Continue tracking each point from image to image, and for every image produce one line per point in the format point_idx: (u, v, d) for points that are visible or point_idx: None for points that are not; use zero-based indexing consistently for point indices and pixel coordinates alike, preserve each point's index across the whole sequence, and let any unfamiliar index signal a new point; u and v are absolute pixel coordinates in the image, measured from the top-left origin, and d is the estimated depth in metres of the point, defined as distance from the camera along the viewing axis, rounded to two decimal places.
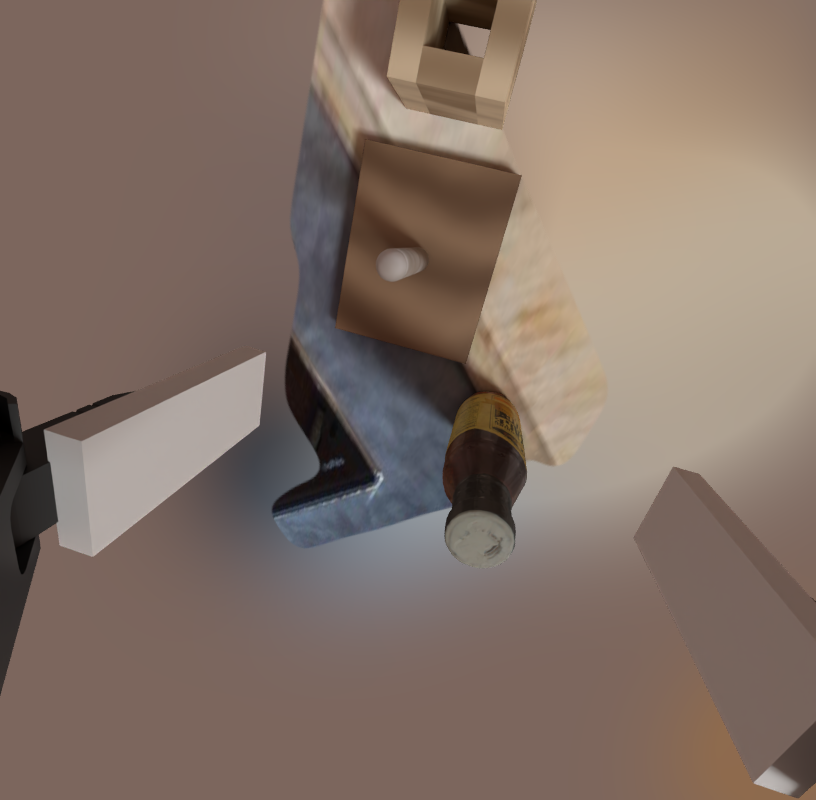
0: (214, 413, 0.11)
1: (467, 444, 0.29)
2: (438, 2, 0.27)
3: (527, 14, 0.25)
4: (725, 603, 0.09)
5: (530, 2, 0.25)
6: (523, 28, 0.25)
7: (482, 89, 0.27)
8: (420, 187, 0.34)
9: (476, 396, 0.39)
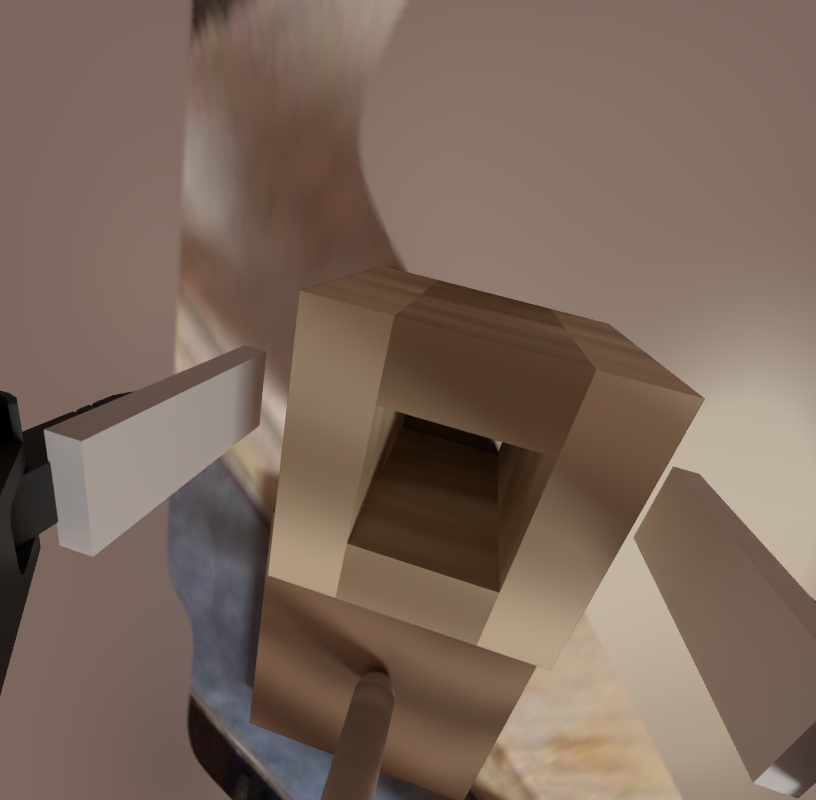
0: (214, 413, 0.11)
1: None
2: (388, 410, 0.11)
3: (620, 538, 0.09)
4: (725, 603, 0.09)
5: (632, 520, 0.09)
6: (607, 563, 0.09)
7: (495, 640, 0.11)
8: None
9: None
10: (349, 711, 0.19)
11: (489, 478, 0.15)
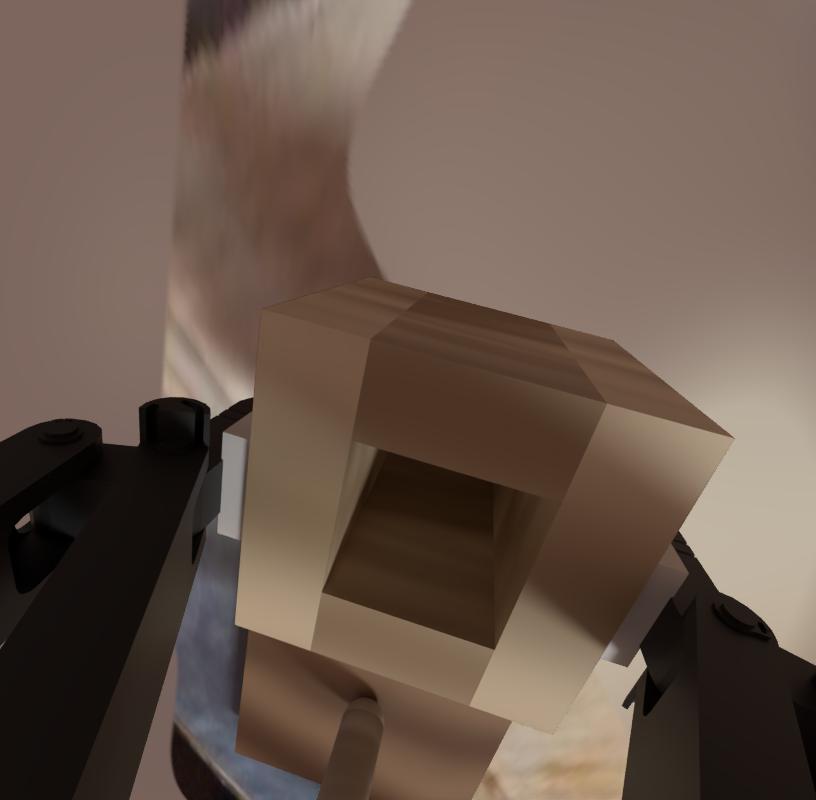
0: None
1: None
2: None
3: (634, 593, 0.08)
4: None
5: (647, 574, 0.08)
6: (618, 621, 0.08)
7: (490, 701, 0.10)
8: None
9: None
10: (337, 740, 0.18)
11: (484, 507, 0.14)
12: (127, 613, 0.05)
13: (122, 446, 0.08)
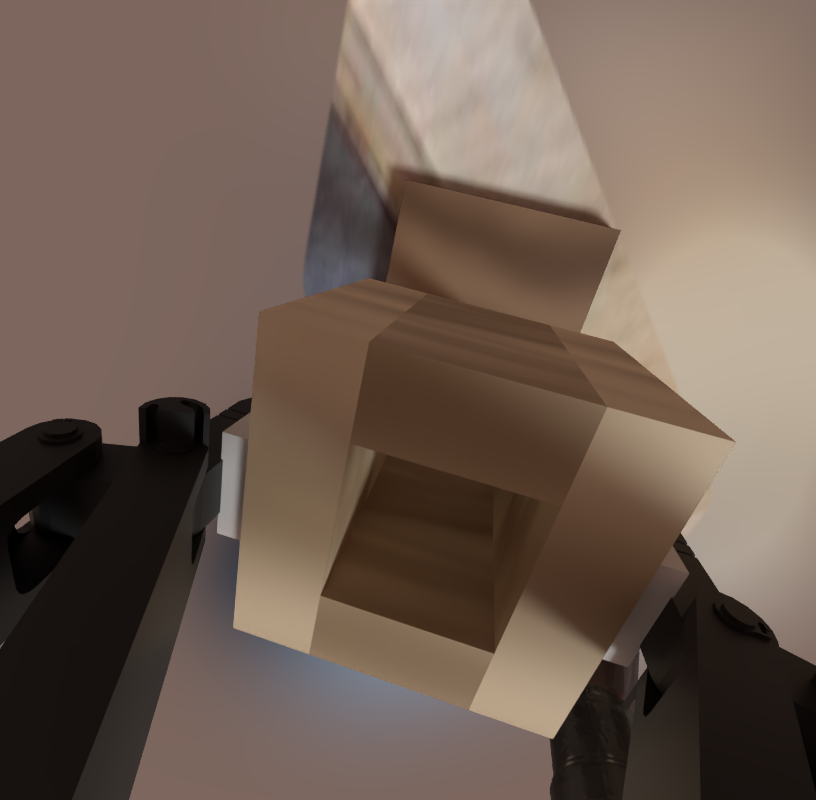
0: None
1: None
2: None
3: (634, 597, 0.08)
4: None
5: (647, 578, 0.08)
6: (618, 625, 0.08)
7: (489, 704, 0.09)
8: (478, 243, 0.26)
9: None
10: None
11: (483, 509, 0.14)
12: (126, 613, 0.05)
13: (122, 446, 0.08)
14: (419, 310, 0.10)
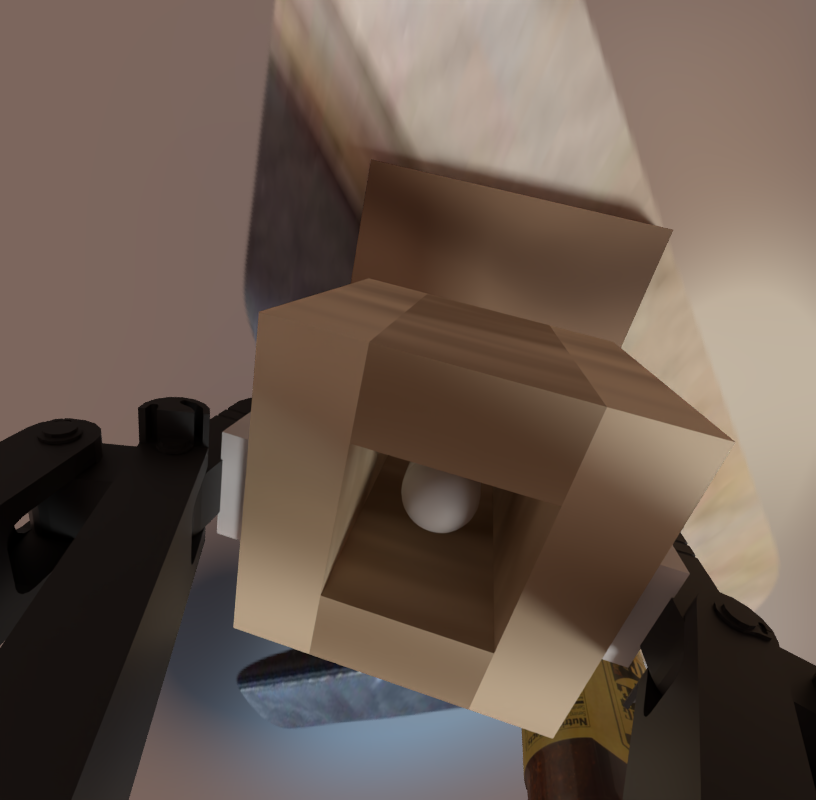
0: None
1: None
2: None
3: (634, 597, 0.08)
4: None
5: (647, 578, 0.08)
6: (618, 624, 0.08)
7: (489, 704, 0.10)
8: (472, 247, 0.18)
9: None
10: None
11: (483, 509, 0.14)
12: (126, 613, 0.05)
13: (121, 446, 0.08)
14: (419, 310, 0.10)
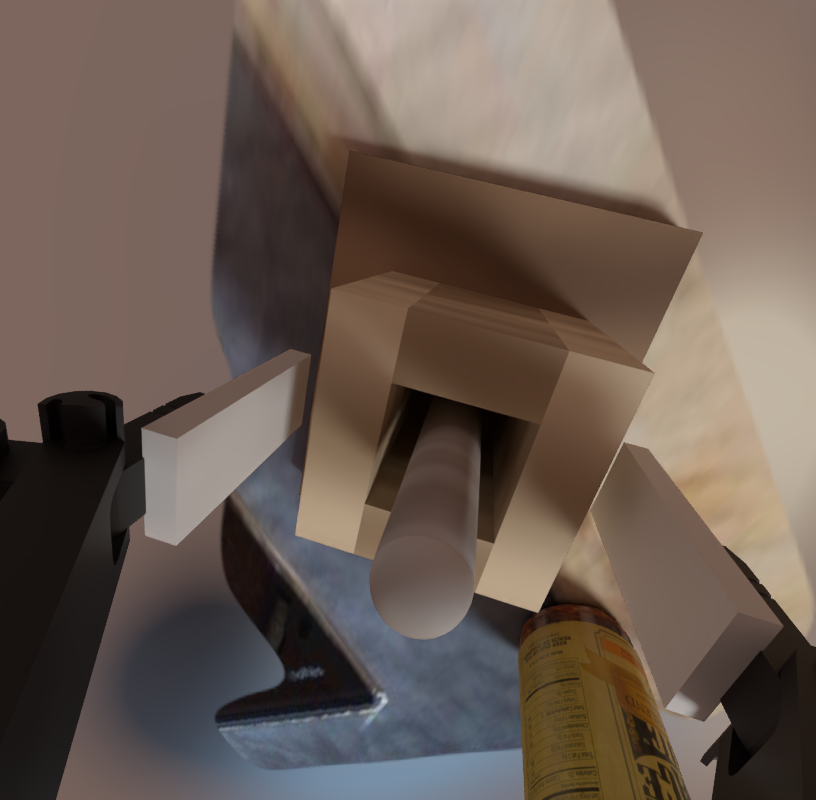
0: (270, 413, 0.12)
1: None
2: (399, 391, 0.13)
3: (593, 492, 0.11)
4: (654, 558, 0.10)
5: (601, 476, 0.11)
6: (583, 514, 0.11)
7: (490, 587, 0.13)
8: (467, 253, 0.16)
9: (563, 630, 0.21)
10: None
11: (485, 457, 0.17)
12: (32, 617, 0.05)
13: (33, 443, 0.08)
14: (436, 293, 0.14)
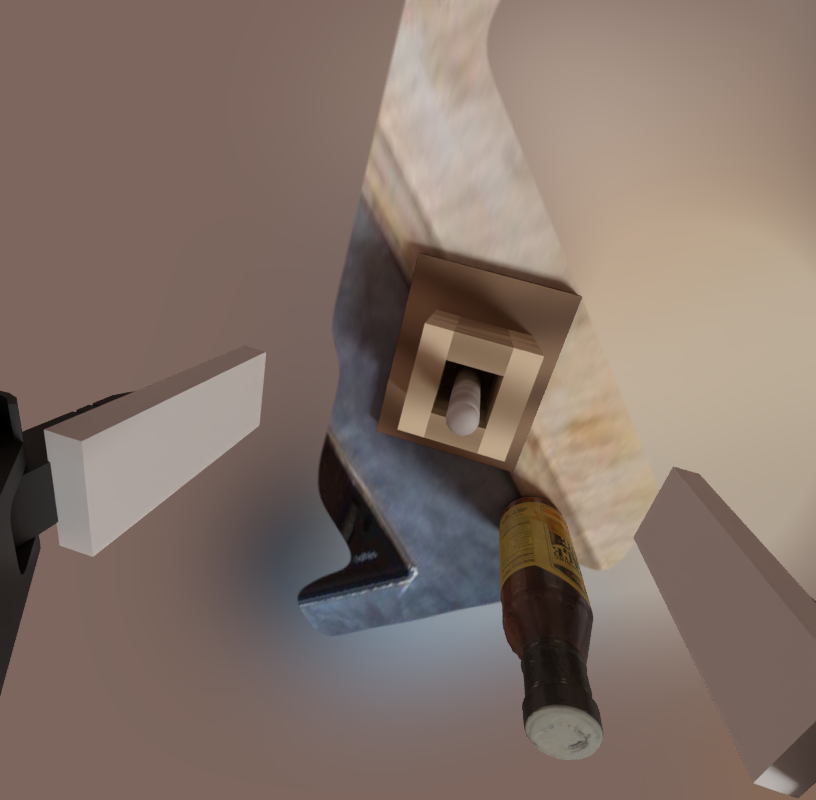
0: (214, 413, 0.11)
1: (533, 593, 0.27)
2: None
3: (524, 404, 0.28)
4: (725, 603, 0.09)
5: (527, 397, 0.28)
6: (521, 413, 0.28)
7: (484, 450, 0.29)
8: (474, 302, 0.33)
9: (523, 505, 0.37)
10: (458, 369, 0.33)
11: (481, 403, 0.34)
12: None
13: None
14: (461, 323, 0.30)
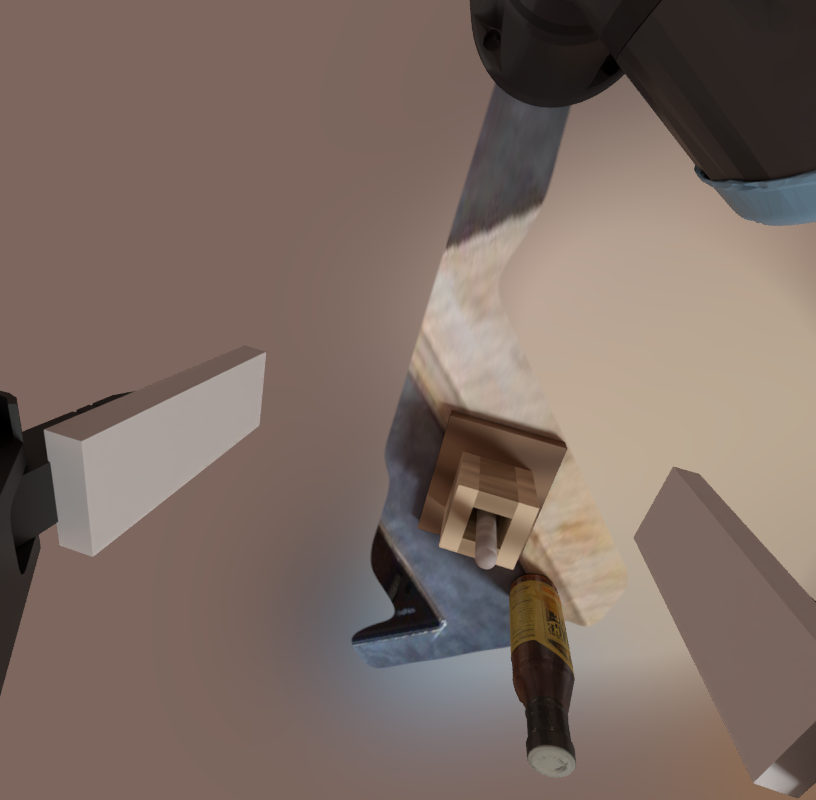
0: (214, 413, 0.11)
1: (533, 663, 0.41)
2: None
3: (526, 536, 0.41)
4: (725, 603, 0.09)
5: (528, 532, 0.41)
6: (524, 541, 0.41)
7: (499, 562, 0.43)
8: (490, 448, 0.46)
9: (527, 584, 0.51)
10: None
11: (496, 518, 0.47)
12: None
13: None
14: (481, 471, 0.44)
